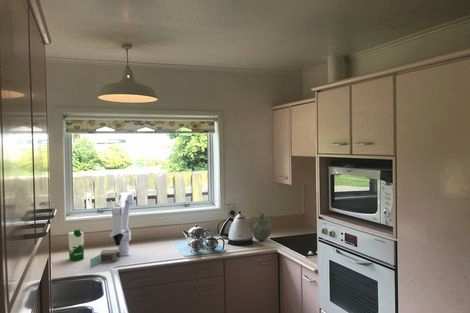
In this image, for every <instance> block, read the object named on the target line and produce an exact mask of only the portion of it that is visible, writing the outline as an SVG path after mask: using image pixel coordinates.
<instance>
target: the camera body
mask: <svg viewBox="0 0 470 313" xmlns="http://www.w3.org/2000/svg"><path fill="white" fill-rule="evenodd" d="M120 258H121V256H120V251H119V252H118V248H117V249H115V248H114V249H102V250H101V252H100V263H101V264H102V263H116V262H117V261H118V259H120Z"/></svg>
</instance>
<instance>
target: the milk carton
mask: <svg viewBox="0 0 470 313" xmlns="http://www.w3.org/2000/svg"><path fill="white" fill-rule="evenodd" d="M84 235H85V233H84V232H83V231H81V229H73V231H72V232H71V231H70V232H68V256H69V258H68V259H69V260H70V261H71V262H76V261H83V260H84V258H85V253H84V252H85V250H84V247H85V246H84V245H85V244H84V243H85V242H84V241H85V238H84V237H85V236H84Z"/></svg>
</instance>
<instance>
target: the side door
mask: <svg viewBox="0 0 470 313" xmlns="http://www.w3.org/2000/svg"><path fill="white" fill-rule="evenodd" d="M89 262H90V266H89V267H90V268H93V267H95V266H97V265H98V264H100V263H101V262H100V254H98V255H96V256H94V257H92V258H90V260H89Z"/></svg>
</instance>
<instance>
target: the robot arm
mask: <svg viewBox="0 0 470 313" xmlns="http://www.w3.org/2000/svg"><path fill="white" fill-rule="evenodd" d="M134 198H135V194H134V192H121V191H120V192H119V193H118V201H117V202H116V203H115V206H113V207H112V209H111V215H112V219H113V223H112V224H113V225H112V226H113V227H112V228H113V229H112V231H111V233H109V237H110V238H113V240H114V243H115V246H116V247H117V249H118V252H119V251H120V257H123V256H130V253H131V251H130V250H129V249H130V248H129V247H130V246H129V245H130V244H129V243H130V241H131V240H132V231H131V229H130V228H129V218H130V211H131V210H130V209H131V207H132V206H133V204H134V201H135V200H134Z"/></svg>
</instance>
